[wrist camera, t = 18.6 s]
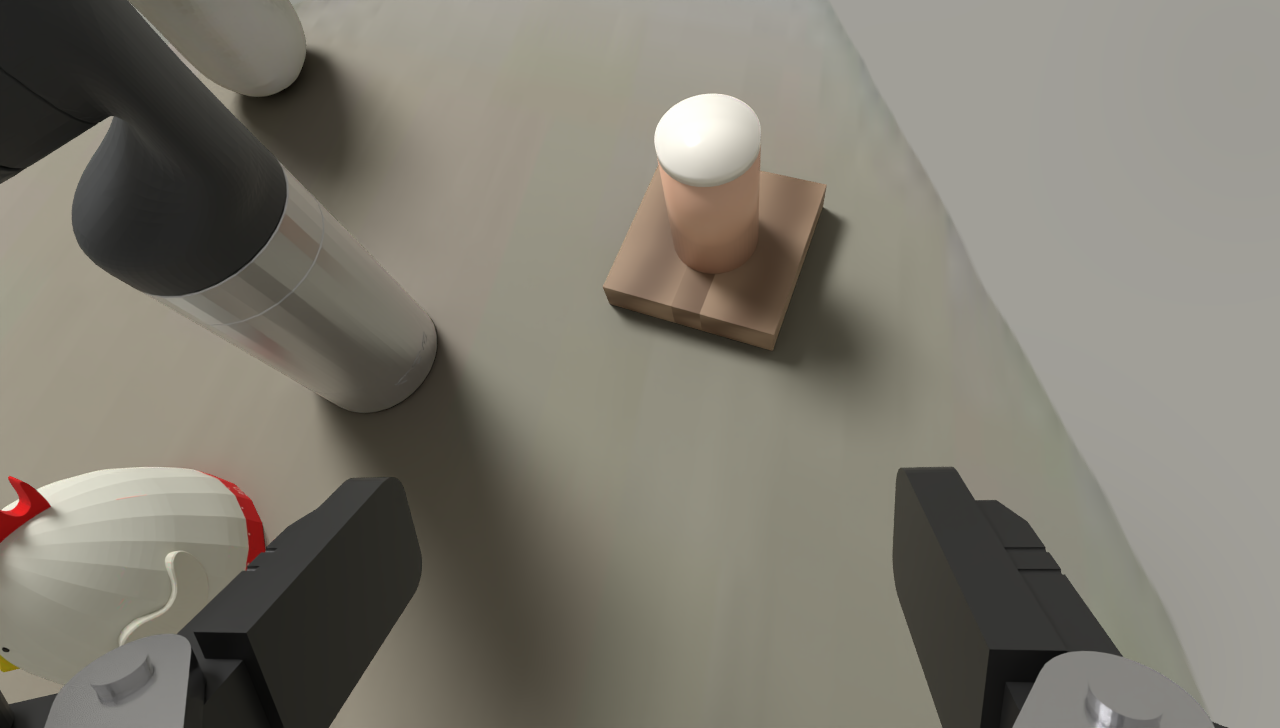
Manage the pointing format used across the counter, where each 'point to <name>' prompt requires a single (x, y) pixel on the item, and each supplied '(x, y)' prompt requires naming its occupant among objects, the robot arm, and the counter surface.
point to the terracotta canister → (711, 180)
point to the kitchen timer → (115, 561)
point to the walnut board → (724, 301)
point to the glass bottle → (234, 40)
